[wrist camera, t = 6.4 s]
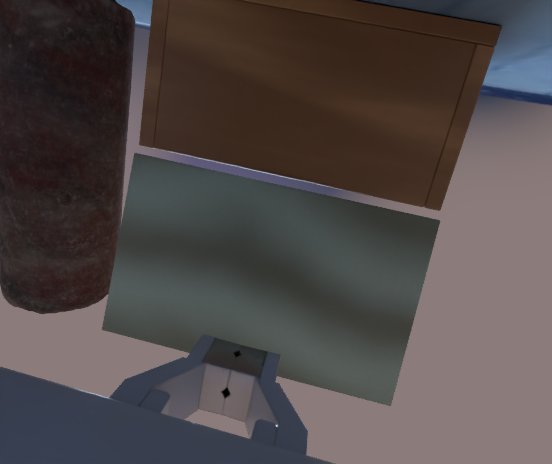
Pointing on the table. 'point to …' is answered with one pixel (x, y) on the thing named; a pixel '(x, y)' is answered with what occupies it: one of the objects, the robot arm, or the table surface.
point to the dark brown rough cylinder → (62, 148)
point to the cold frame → (317, 91)
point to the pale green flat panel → (269, 274)
